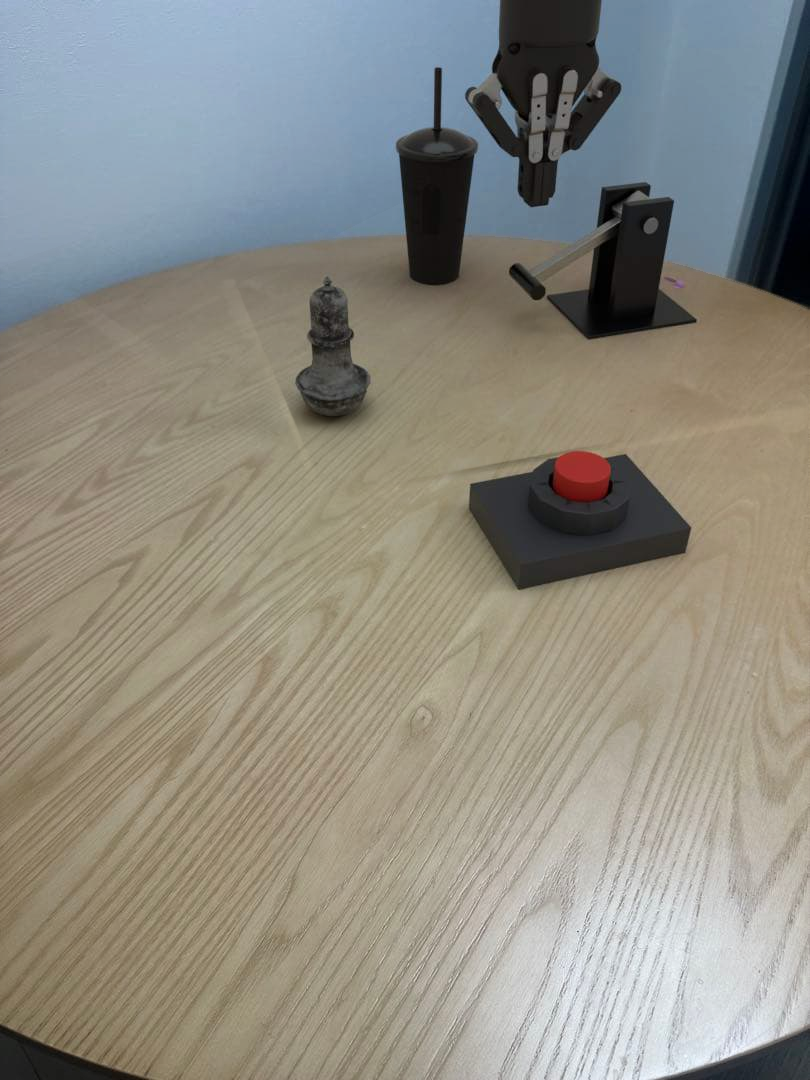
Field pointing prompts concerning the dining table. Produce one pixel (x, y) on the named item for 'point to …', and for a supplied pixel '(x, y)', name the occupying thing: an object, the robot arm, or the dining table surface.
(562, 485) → the button
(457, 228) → the drinking cup
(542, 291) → the press lever
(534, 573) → the button box
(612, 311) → the lever bracket
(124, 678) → the dining table surface
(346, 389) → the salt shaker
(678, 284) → the earpods
